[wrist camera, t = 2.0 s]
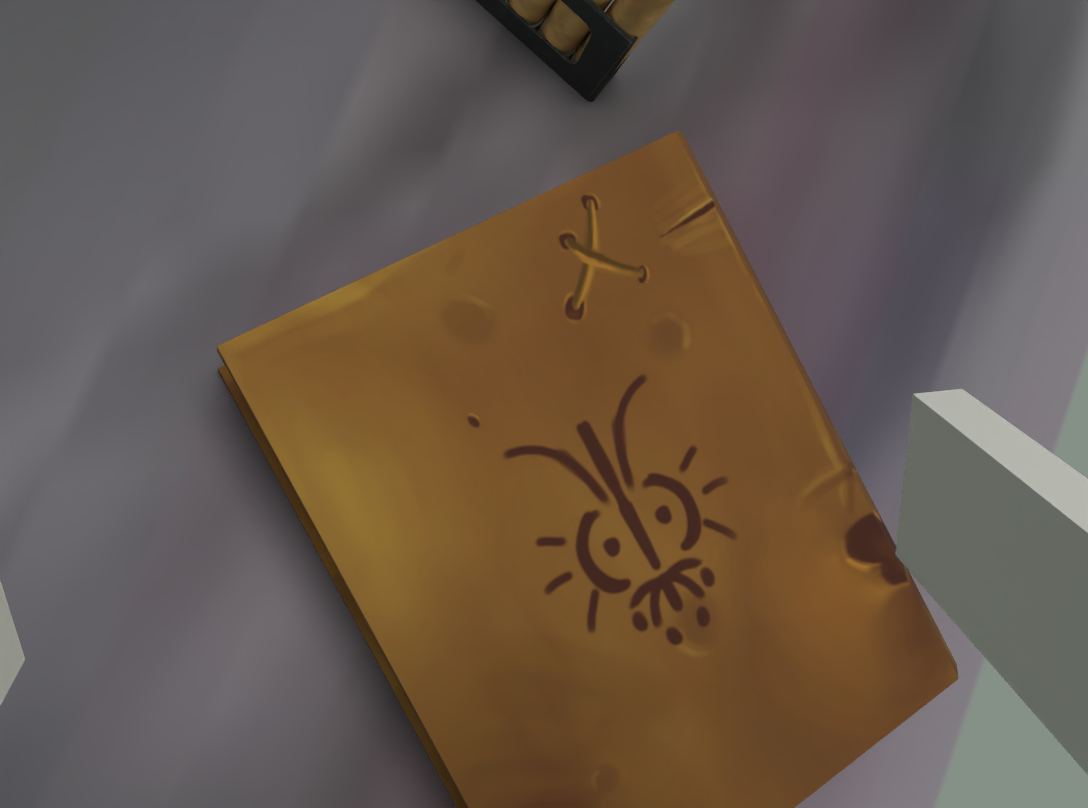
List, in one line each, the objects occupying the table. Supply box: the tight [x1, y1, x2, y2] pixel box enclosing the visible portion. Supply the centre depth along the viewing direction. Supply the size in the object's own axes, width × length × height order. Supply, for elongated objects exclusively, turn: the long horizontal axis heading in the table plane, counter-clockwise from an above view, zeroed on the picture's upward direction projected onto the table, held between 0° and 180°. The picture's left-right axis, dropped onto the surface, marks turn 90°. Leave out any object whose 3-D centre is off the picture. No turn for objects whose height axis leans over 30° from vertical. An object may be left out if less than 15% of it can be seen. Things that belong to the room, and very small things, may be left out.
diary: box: [217, 132, 958, 808], centre depth 37 cm, size 23×19×6 cm
